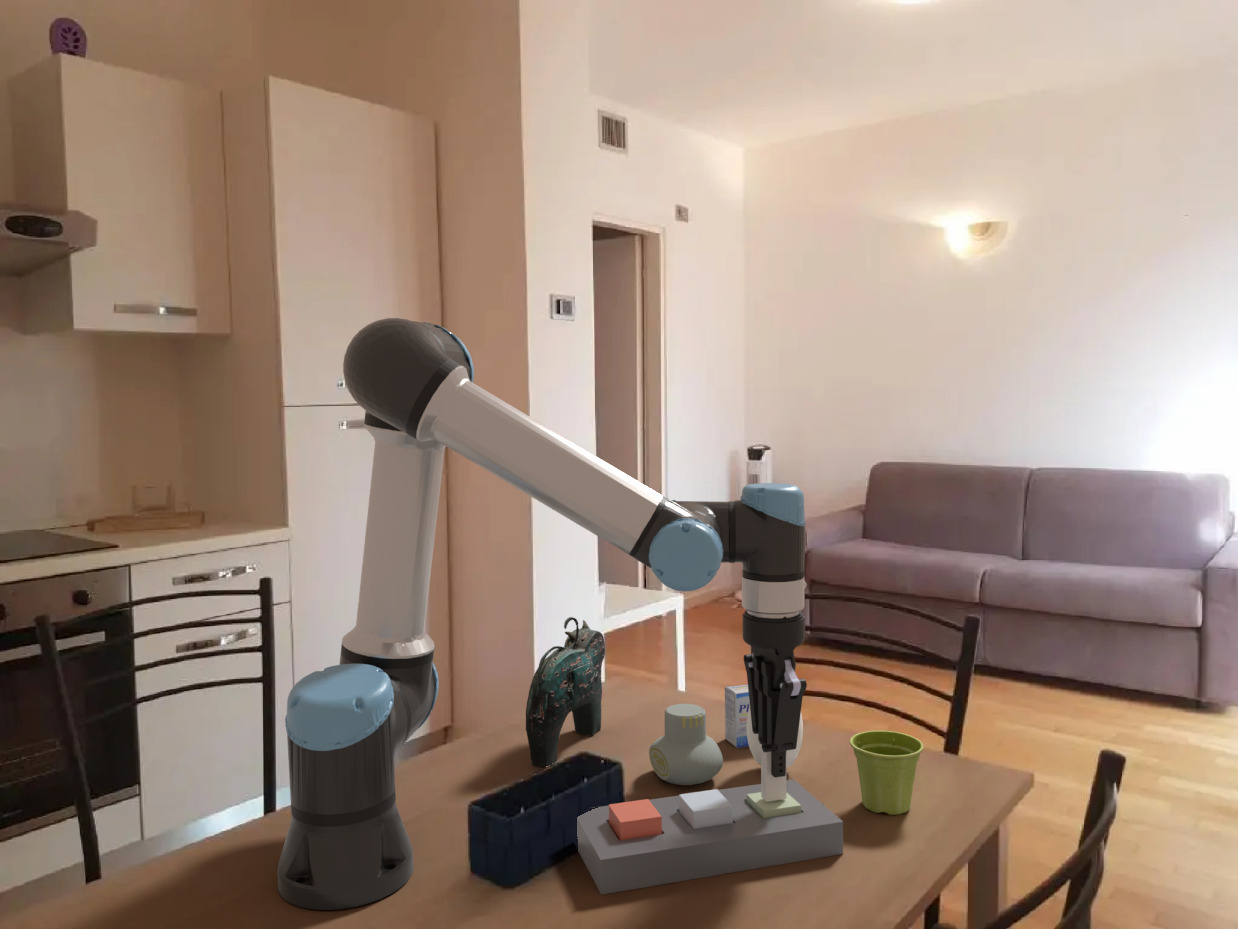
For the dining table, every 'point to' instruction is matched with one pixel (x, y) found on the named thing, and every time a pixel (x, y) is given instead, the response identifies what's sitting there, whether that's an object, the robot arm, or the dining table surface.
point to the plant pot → (886, 769)
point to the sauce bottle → (756, 746)
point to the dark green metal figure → (565, 692)
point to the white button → (705, 809)
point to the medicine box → (736, 715)
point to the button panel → (707, 842)
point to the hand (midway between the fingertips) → (773, 797)
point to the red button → (634, 819)
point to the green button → (773, 806)
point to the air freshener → (685, 747)
